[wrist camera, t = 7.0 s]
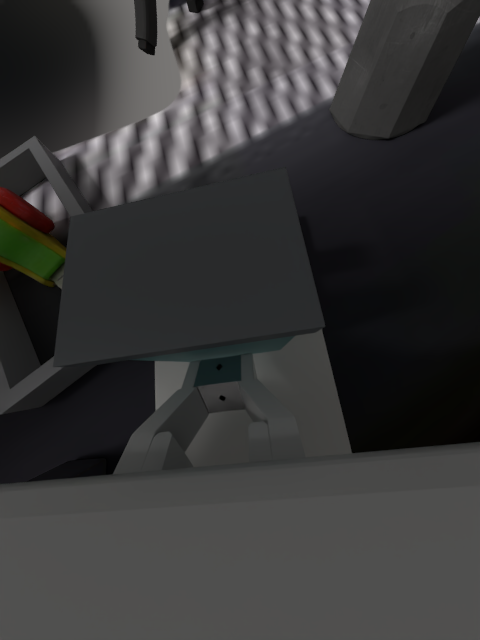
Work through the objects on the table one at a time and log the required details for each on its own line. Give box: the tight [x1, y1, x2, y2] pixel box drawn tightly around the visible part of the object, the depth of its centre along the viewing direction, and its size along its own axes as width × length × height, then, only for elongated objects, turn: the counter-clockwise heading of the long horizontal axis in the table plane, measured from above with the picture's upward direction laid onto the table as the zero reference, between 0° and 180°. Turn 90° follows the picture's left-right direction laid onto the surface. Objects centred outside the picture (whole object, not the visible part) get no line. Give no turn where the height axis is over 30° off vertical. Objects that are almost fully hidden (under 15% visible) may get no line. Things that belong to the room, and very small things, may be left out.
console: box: [155, 329, 352, 467], centre depth 11 cm, size 18×12×8 cm, turn 8°
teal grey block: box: [53, 167, 325, 367], centre depth 9 cm, size 4×6×9 cm
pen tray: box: [0, 136, 96, 415], centre depth 18 cm, size 25×12×2 cm, turn 38°
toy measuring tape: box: [0, 187, 67, 289], centre depth 16 cm, size 6×20×7 cm, turn 51°
